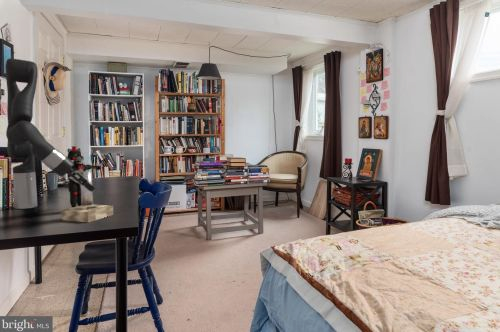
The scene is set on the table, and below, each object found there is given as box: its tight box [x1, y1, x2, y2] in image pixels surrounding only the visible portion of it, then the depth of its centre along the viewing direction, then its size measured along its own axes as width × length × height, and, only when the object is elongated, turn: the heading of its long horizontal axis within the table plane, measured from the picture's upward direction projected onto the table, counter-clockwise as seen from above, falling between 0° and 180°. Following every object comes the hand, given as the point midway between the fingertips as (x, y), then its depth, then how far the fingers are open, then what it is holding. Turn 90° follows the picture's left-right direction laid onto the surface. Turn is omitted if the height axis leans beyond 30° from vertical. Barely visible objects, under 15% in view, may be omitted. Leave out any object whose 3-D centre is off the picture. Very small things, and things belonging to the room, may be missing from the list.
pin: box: [80, 170, 94, 206], centre depth 144 cm, size 4×4×14 cm
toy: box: [46, 145, 102, 208], centre depth 156 cm, size 30×8×30 cm, turn 168°
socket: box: [61, 203, 114, 223], centre depth 145 cm, size 14×14×4 cm
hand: (91, 189), depth 145 cm, fingers closed on pin, 4 cm apart
